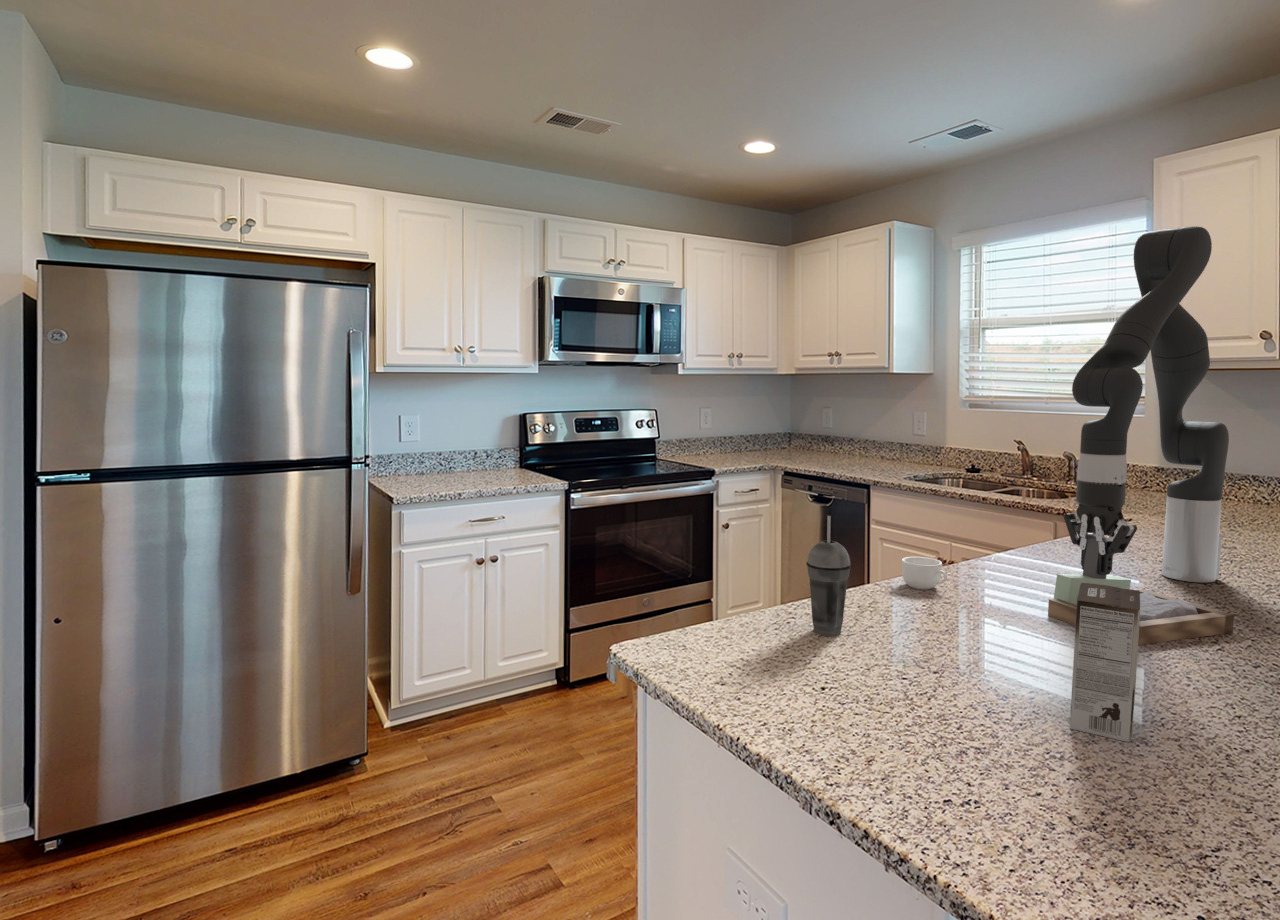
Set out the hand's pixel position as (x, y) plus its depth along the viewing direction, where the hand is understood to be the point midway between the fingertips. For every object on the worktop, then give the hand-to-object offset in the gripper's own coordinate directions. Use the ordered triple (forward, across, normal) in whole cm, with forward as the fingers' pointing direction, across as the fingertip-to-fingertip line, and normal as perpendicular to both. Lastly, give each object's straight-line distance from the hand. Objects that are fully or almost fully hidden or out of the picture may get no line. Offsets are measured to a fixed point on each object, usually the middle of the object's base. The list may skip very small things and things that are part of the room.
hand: (1095, 571), depth 133 cm
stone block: (+7, +7, +4) cm, 11 cm away
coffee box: (+7, +36, -38) cm, 53 cm away
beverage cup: (+7, -3, -53) cm, 54 cm away
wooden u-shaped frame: (+7, +8, 0) cm, 10 cm away
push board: (+6, 0, -1) cm, 6 cm away
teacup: (+7, -21, -20) cm, 30 cm away
